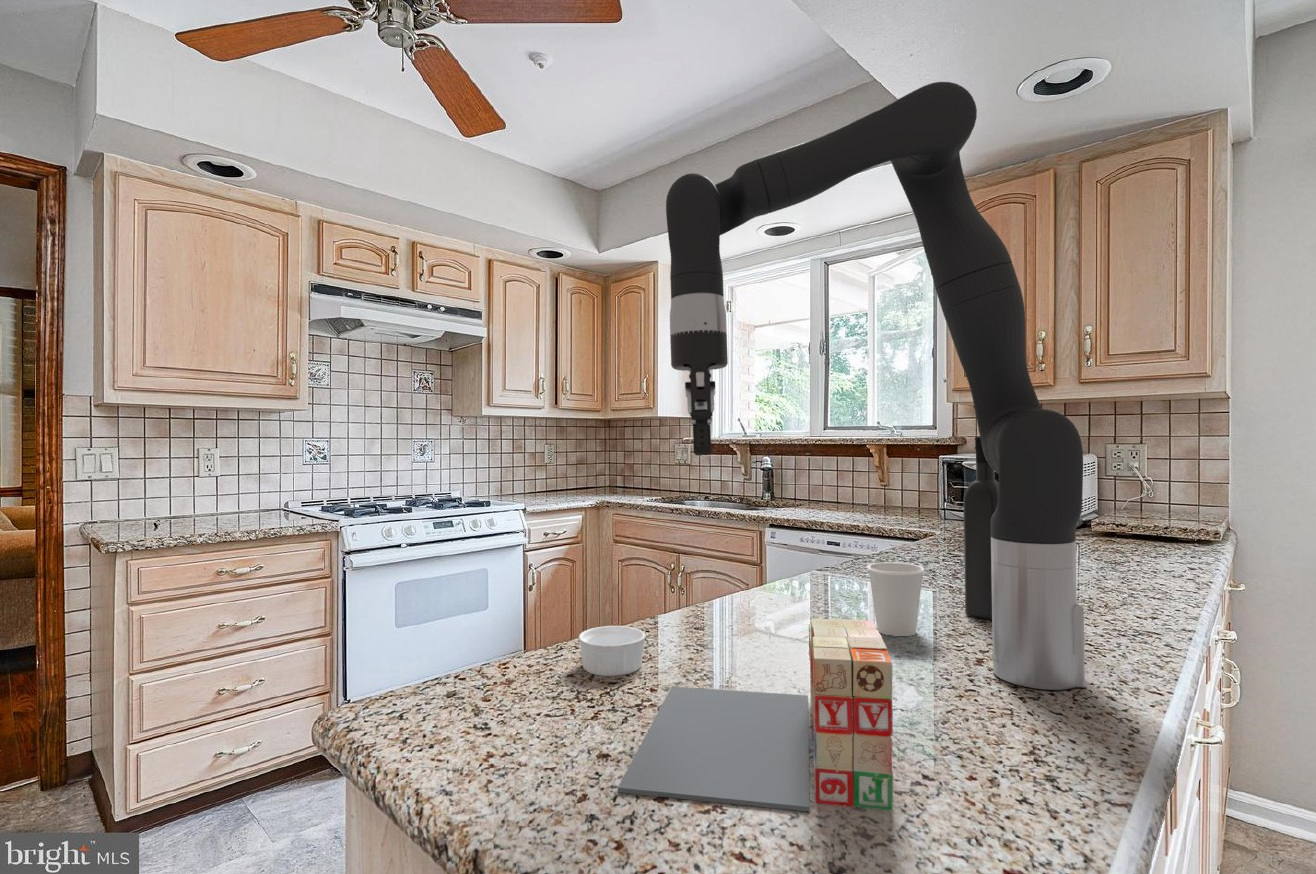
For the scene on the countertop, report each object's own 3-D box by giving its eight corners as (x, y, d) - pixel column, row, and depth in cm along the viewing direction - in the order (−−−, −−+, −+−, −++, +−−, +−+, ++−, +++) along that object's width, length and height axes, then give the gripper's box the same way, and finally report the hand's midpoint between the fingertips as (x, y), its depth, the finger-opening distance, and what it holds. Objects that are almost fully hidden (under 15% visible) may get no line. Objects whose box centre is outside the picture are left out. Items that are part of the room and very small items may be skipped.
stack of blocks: (809, 704, 76) (808, 596, 76) (867, 708, 75) (865, 598, 75) (815, 805, 55) (813, 655, 55) (895, 813, 54) (892, 659, 54)
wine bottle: (1012, 616, 112) (1009, 436, 112) (998, 622, 108) (994, 436, 108) (977, 610, 116) (975, 436, 116) (962, 616, 112) (959, 436, 113)
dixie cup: (895, 642, 98) (893, 574, 98) (856, 628, 106) (855, 565, 106) (937, 635, 102) (936, 569, 102) (897, 621, 109) (896, 560, 109)
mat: (808, 699, 77) (807, 695, 77) (809, 811, 54) (809, 807, 54) (672, 689, 81) (671, 686, 81) (617, 792, 57) (617, 787, 57)
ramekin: (659, 666, 90) (658, 633, 90) (610, 684, 83) (610, 649, 83) (613, 652, 96) (613, 622, 96) (565, 668, 90) (565, 635, 90)
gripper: (729, 321, 82) (733, 454, 82) (724, 339, 96) (728, 452, 96) (667, 324, 82) (672, 456, 82) (672, 341, 97) (675, 454, 96)
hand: (702, 454), depth 89 cm, fingers open, 8 cm apart
